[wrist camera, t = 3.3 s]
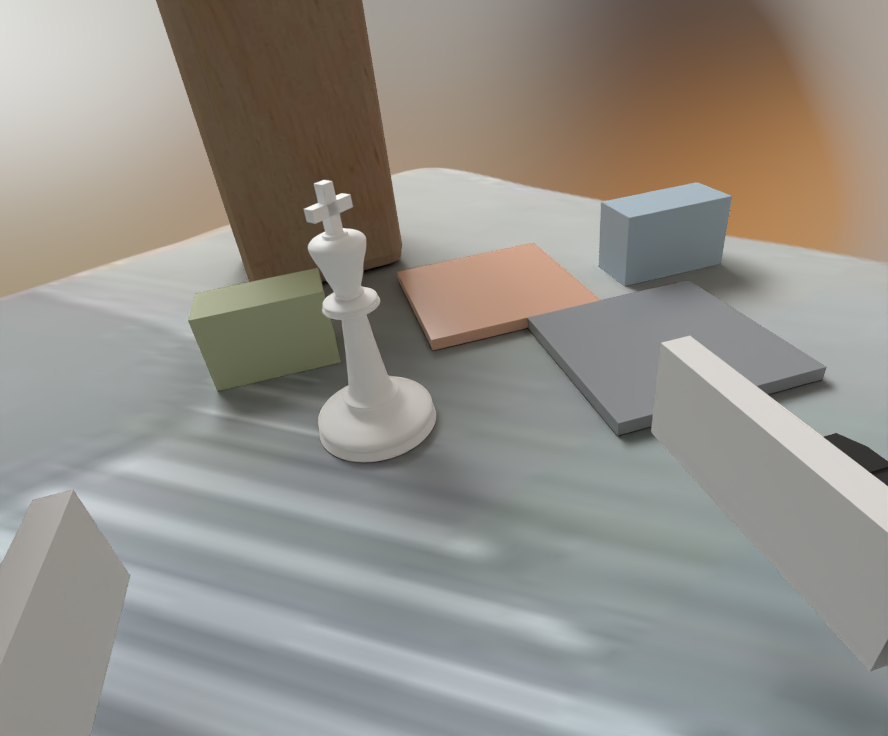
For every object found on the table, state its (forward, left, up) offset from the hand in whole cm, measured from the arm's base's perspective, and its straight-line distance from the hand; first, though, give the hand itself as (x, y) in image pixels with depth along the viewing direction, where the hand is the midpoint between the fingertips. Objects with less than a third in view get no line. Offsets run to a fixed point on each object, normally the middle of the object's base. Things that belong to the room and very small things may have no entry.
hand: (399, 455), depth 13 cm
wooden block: (-1, +29, -6) cm, 30 cm away
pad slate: (+13, +9, -6) cm, 17 cm away
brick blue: (+18, +17, -6) cm, 26 cm away
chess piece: (0, +9, -6) cm, 11 cm away
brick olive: (-4, +16, -6) cm, 18 cm away
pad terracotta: (+8, +18, -6) cm, 21 cm away
